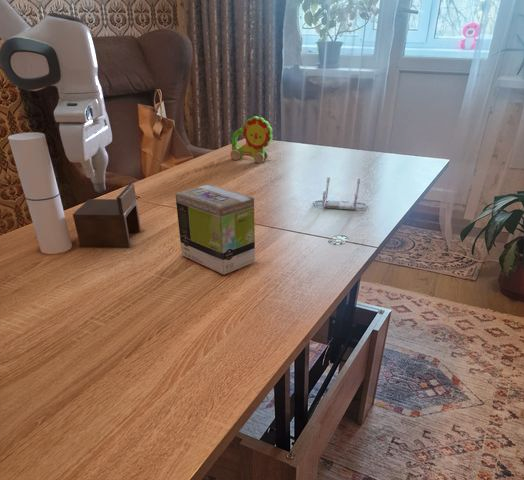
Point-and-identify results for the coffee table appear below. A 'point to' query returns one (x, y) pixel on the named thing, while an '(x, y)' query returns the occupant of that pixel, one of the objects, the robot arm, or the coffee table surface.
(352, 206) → the wall mount rack
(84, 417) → the coffee table surface
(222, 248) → the tea box
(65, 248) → the cylindrical container
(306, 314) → the coffee table surface
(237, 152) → the toy lion
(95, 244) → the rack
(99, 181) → the lightbulb
